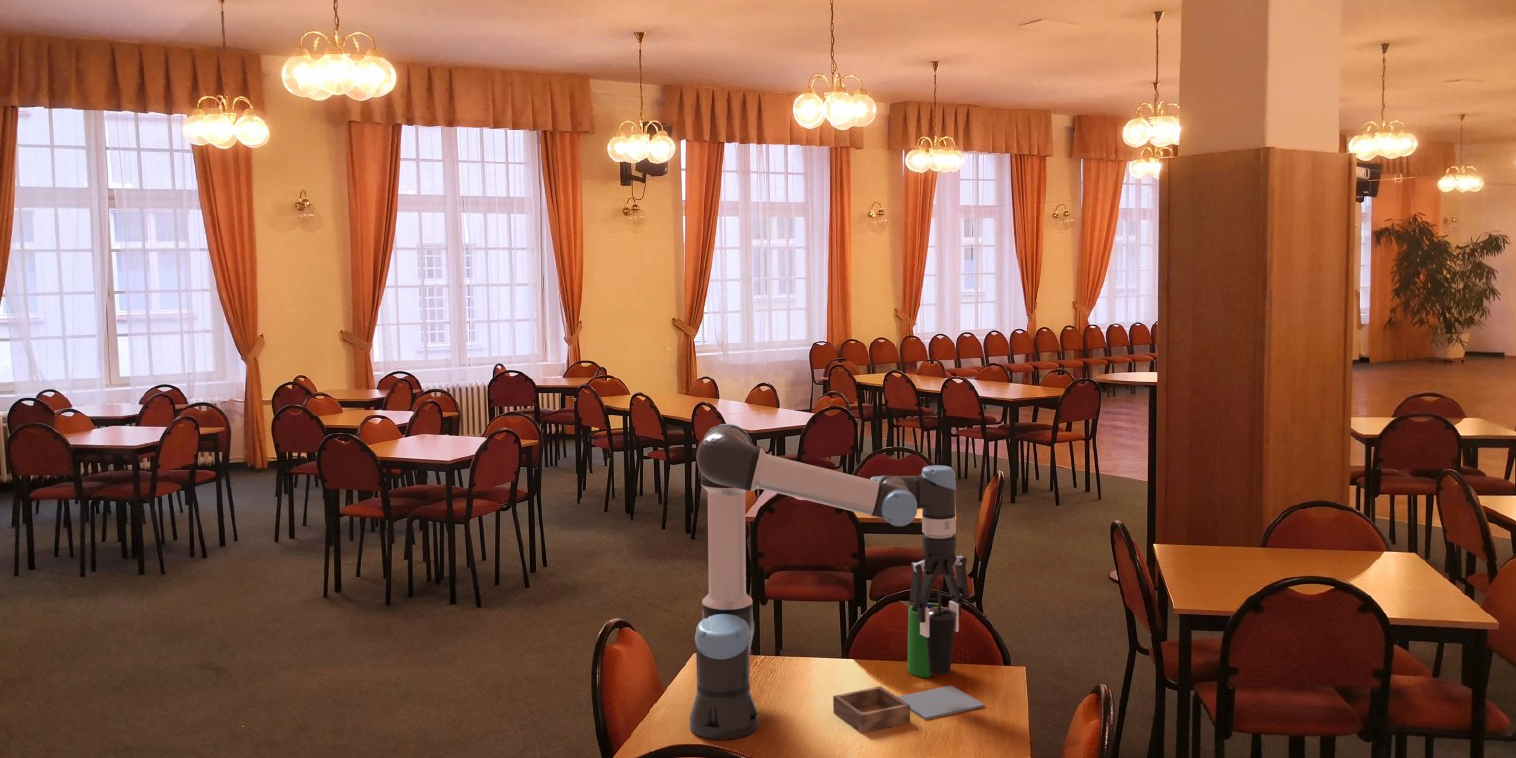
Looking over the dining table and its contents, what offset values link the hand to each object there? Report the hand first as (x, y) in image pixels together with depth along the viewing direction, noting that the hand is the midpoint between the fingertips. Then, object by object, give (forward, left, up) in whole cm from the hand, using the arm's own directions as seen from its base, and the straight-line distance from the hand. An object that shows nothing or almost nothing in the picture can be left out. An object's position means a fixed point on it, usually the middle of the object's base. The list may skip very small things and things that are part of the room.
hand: (939, 632), depth 255 cm
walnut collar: (-18, 0, -17) cm, 25 cm away
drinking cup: (0, 0, -9) cm, 9 cm away
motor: (+9, +19, -17) cm, 27 cm away
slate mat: (0, 0, -17) cm, 17 cm away
